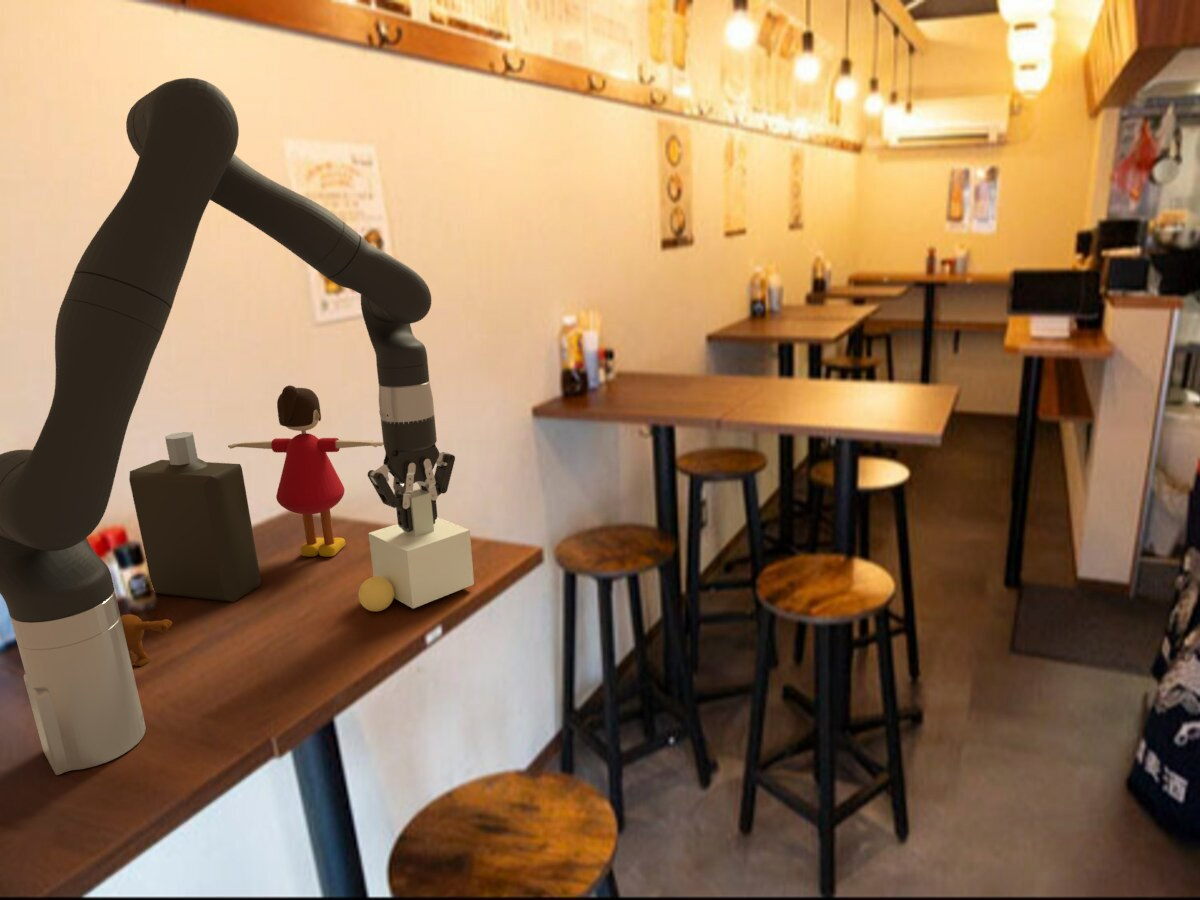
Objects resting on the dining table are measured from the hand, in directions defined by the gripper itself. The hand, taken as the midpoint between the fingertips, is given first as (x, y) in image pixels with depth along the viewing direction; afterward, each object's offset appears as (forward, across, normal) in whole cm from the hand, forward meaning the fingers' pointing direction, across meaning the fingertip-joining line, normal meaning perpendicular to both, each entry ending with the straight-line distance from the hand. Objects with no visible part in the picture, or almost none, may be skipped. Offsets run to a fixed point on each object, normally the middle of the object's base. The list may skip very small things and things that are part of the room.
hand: (418, 526), depth 119 cm
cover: (+10, 0, 0) cm, 10 cm away
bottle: (+11, -22, +27) cm, 37 cm away
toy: (+11, -4, +26) cm, 29 cm away
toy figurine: (+11, -37, +11) cm, 40 cm away
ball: (+8, -8, 0) cm, 11 cm away
